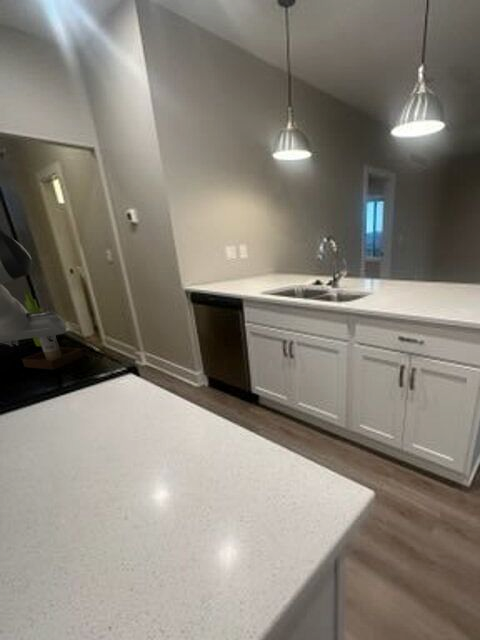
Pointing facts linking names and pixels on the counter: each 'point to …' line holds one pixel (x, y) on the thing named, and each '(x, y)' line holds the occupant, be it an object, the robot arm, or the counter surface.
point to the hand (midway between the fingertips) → (34, 341)
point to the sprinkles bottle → (50, 348)
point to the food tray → (67, 357)
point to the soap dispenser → (32, 309)
